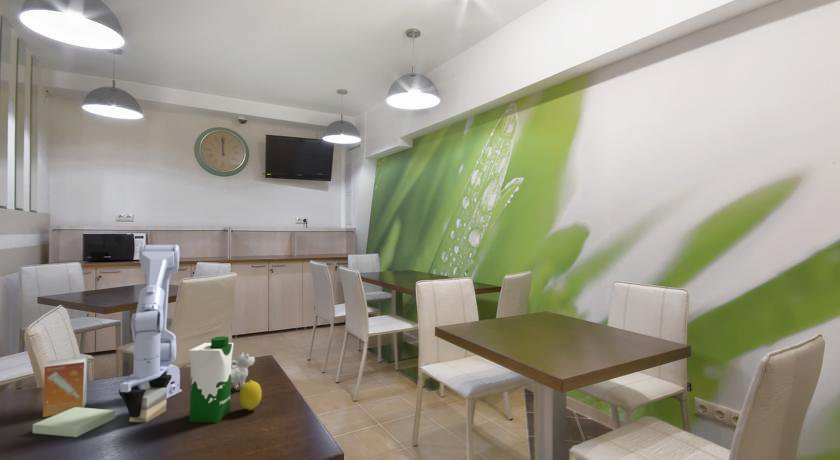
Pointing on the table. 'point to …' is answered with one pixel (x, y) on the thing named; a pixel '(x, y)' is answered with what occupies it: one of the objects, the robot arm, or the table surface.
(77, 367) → the small box
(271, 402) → the table surface
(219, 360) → the milk carton
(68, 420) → the stand
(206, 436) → the table surface
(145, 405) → the cream layered block
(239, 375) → the dog figurine
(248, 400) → the lemon
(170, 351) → the robot arm
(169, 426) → the table surface
